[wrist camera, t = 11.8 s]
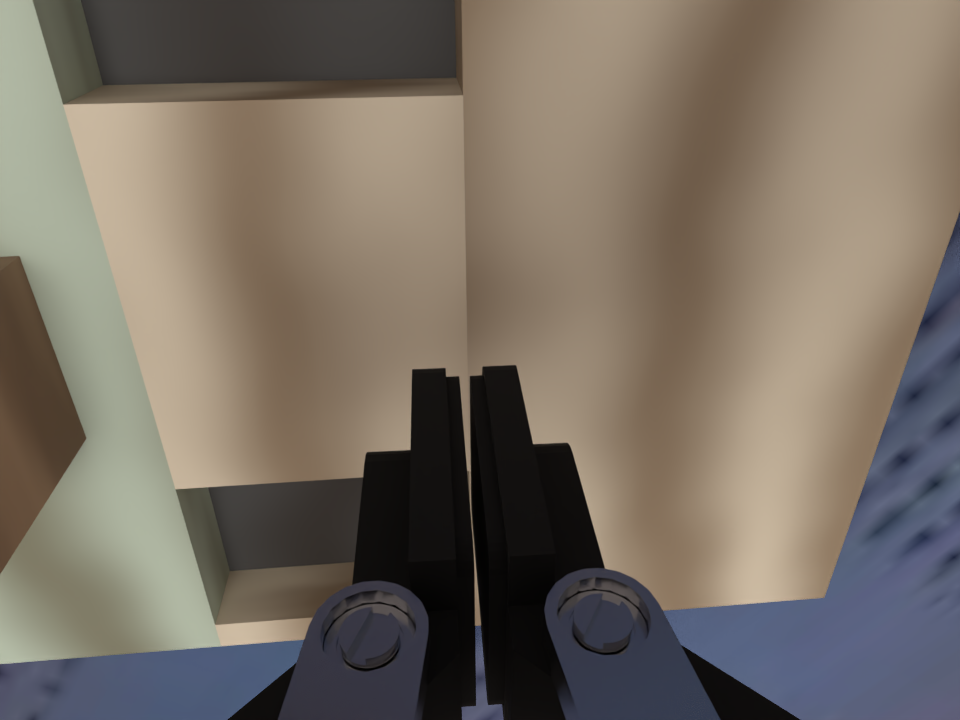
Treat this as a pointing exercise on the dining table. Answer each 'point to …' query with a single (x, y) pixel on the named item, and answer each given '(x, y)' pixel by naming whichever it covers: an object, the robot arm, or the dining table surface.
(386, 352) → the board
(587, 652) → the robot arm
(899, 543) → the dining table surface
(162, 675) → the dining table surface
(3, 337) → the walnut block
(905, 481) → the dining table surface
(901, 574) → the dining table surface
